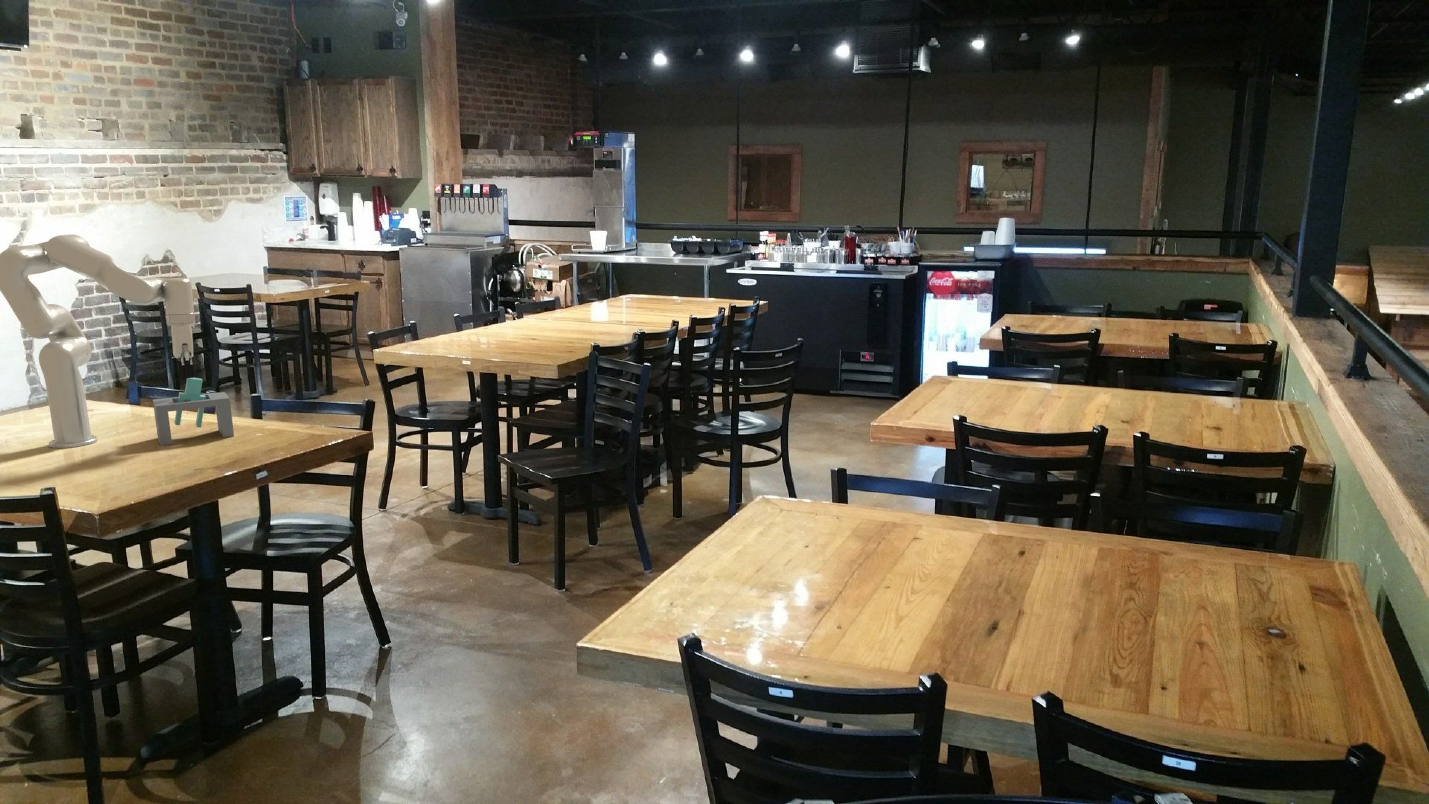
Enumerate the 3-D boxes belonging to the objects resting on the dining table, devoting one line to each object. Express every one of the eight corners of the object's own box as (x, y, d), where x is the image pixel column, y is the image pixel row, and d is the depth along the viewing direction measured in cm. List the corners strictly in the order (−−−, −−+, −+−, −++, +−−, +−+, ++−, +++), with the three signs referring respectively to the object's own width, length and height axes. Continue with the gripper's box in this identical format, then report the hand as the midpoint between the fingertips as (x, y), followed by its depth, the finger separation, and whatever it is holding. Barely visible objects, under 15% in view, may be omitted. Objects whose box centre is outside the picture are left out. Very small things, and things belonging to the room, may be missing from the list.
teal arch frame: (174, 422, 313) (181, 376, 312) (199, 425, 317) (206, 379, 316) (175, 425, 310) (182, 378, 309) (201, 427, 314) (208, 381, 313)
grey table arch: (157, 437, 315) (152, 399, 313) (228, 429, 325) (224, 391, 323) (160, 445, 305) (155, 406, 303) (234, 436, 315) (229, 398, 313)
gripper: (164, 317, 313) (170, 372, 316) (169, 323, 299) (175, 381, 302) (191, 315, 317) (197, 370, 320) (198, 321, 303) (203, 378, 306)
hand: (186, 375), depth 311 cm, fingers open, 9 cm apart
